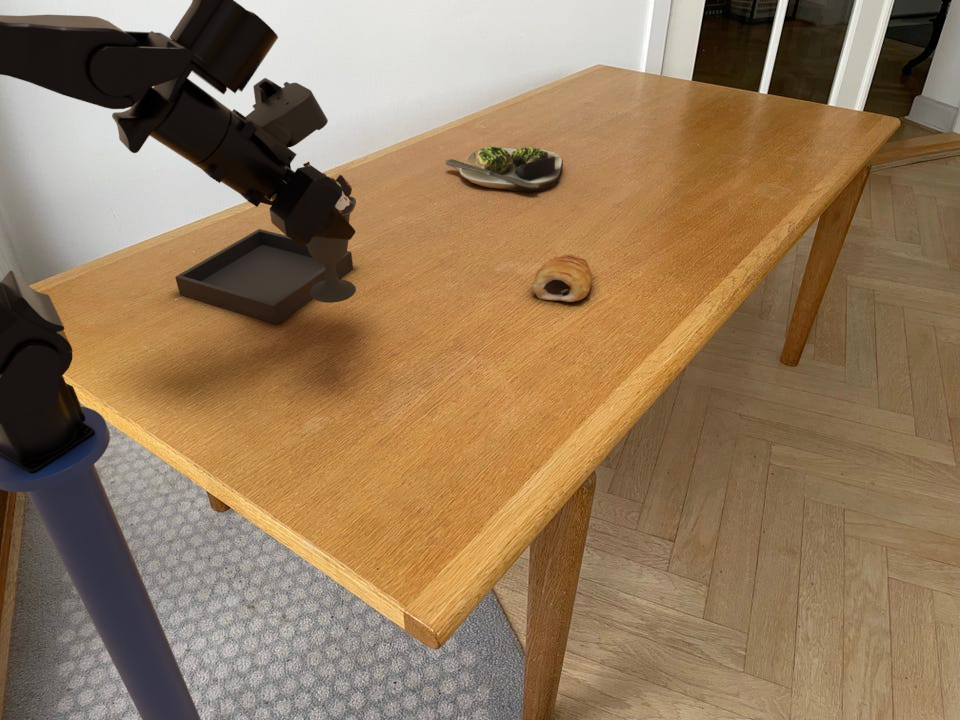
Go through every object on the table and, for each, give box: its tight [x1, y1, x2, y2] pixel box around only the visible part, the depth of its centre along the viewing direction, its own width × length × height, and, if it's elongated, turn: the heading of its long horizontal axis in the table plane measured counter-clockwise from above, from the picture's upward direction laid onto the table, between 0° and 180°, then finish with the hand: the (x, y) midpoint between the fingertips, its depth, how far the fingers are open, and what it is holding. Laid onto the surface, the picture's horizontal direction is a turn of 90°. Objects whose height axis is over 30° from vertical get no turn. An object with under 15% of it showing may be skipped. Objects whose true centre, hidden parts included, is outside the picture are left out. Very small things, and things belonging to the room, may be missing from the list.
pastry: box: [531, 253, 593, 303], centre depth 90 cm, size 9×7×4 cm
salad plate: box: [444, 145, 564, 193], centre depth 120 cm, size 19×18×5 cm
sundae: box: [302, 161, 357, 304], centre depth 74 cm, size 7×7×15 cm
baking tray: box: [175, 228, 354, 325], centre depth 91 cm, size 15×15×2 cm
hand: (337, 223), depth 75 cm, fingers closed on sundae, 6 cm apart
